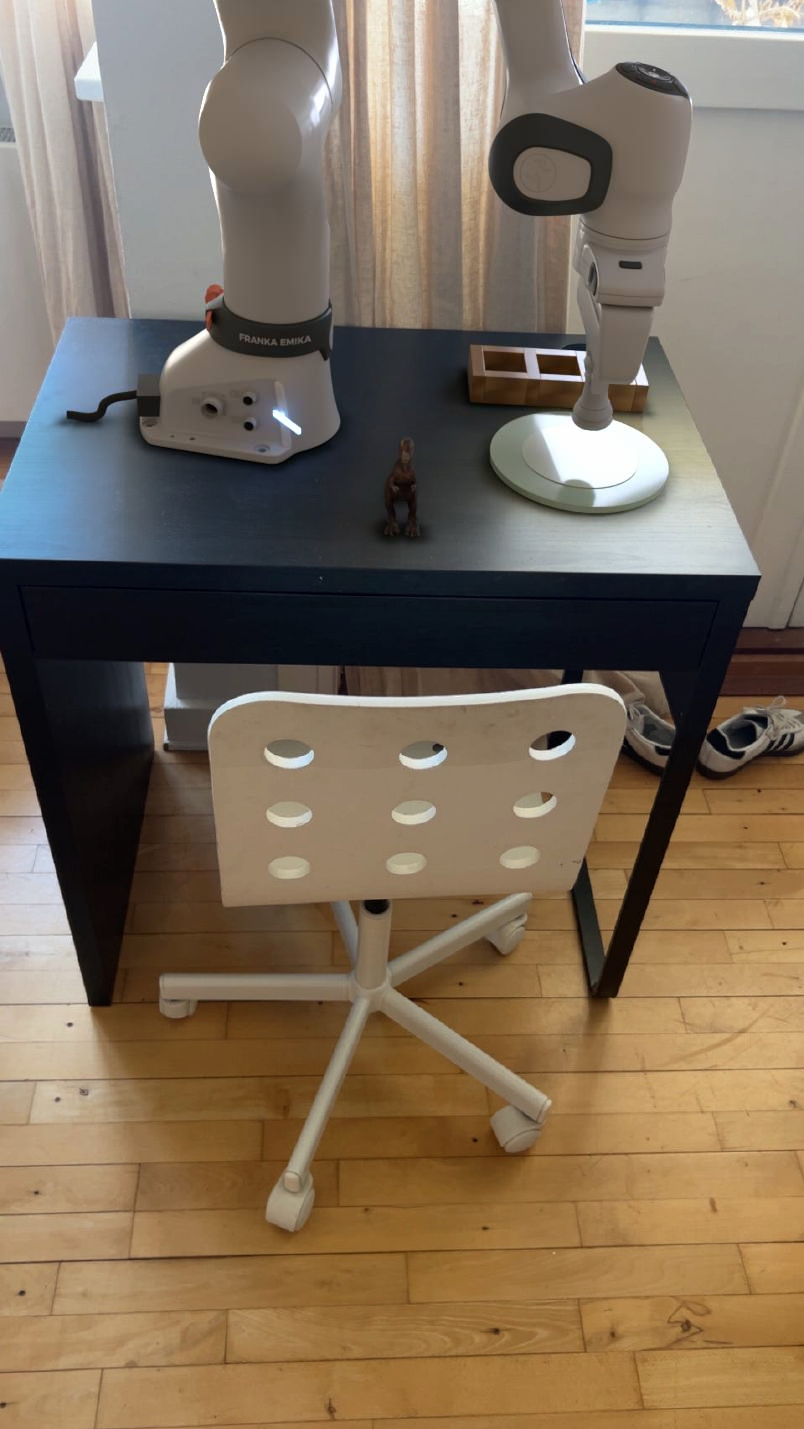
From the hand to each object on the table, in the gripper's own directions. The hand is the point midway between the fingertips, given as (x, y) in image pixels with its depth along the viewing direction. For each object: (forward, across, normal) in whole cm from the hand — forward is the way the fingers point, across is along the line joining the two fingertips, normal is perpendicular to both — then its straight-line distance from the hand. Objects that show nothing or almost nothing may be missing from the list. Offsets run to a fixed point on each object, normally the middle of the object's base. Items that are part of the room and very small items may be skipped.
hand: (594, 382), depth 123 cm
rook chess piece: (+5, 0, 0) cm, 5 cm away
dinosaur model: (+10, +11, -20) cm, 25 cm away
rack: (+10, -17, -1) cm, 20 cm away
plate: (+10, 0, 0) cm, 10 cm away
